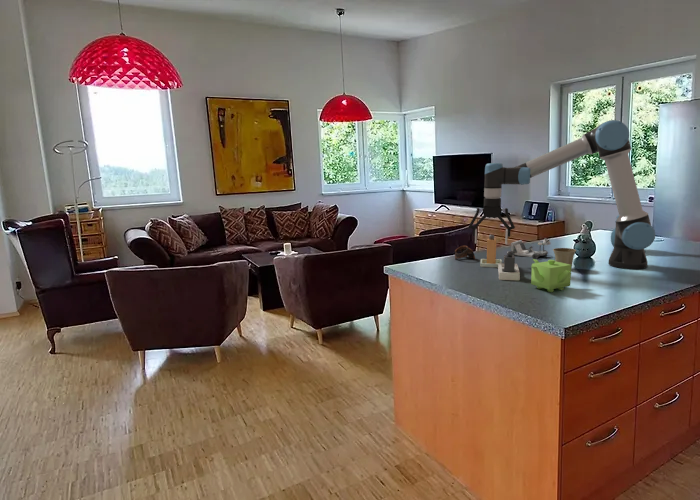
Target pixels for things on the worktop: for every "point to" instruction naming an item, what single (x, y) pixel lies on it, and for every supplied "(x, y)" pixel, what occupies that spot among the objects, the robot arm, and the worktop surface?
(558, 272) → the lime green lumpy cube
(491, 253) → the plug
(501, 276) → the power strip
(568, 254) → the flower pot
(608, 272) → the worktop surface
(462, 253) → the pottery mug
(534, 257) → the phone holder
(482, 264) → the tray
